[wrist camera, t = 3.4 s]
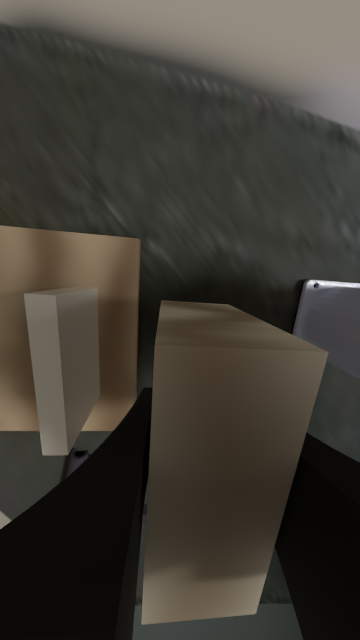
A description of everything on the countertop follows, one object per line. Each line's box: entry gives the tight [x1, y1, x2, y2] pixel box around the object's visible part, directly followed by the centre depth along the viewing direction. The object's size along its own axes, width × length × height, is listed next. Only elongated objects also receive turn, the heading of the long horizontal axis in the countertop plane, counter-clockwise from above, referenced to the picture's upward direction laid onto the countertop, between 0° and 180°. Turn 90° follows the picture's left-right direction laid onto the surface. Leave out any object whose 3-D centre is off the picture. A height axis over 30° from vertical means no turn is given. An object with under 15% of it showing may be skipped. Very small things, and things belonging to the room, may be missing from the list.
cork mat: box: [0, 226, 140, 431], centre depth 16 cm, size 16×18×1 cm
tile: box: [24, 286, 100, 455], centre depth 13 cm, size 2×10×6 cm, turn 176°
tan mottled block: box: [142, 300, 329, 625], centre depth 9 cm, size 4×10×7 cm, turn 176°
